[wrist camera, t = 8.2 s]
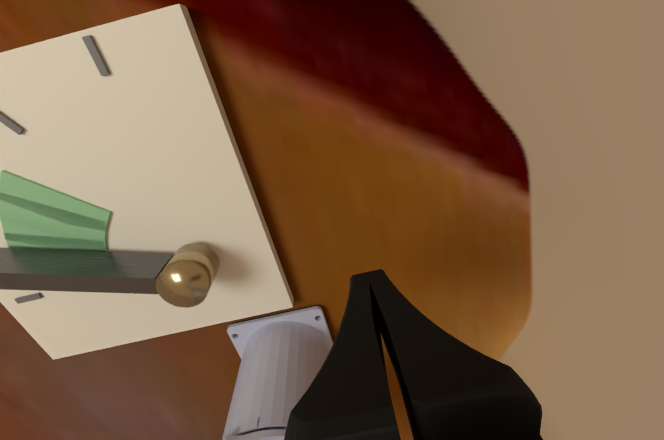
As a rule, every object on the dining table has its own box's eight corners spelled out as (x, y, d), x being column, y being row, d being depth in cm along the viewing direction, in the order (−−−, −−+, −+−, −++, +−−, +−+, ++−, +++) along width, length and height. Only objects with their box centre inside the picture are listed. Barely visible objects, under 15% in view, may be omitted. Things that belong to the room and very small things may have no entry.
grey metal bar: (218, 244, 21) (205, 268, 18) (221, 280, 22) (209, 308, 20) (-11, 234, 20) (-59, 258, 17) (6, 273, 21) (-35, 301, 18)
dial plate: (293, 298, 25) (292, 309, 24) (62, 349, 26) (51, 361, 25) (186, 7, 16) (177, 2, 15) (-157, 101, 17) (-188, 103, 16)
